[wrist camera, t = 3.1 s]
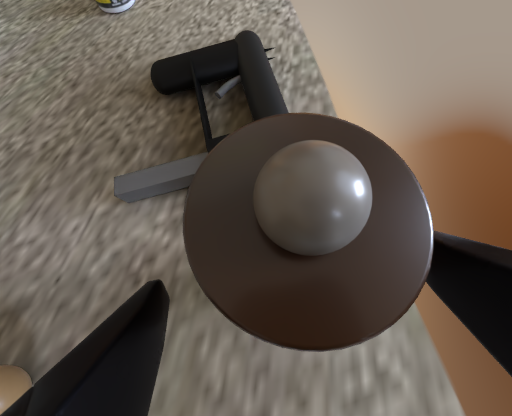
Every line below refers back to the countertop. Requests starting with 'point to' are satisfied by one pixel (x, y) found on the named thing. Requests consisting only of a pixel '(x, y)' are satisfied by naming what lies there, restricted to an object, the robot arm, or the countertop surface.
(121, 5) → the supplement bottle
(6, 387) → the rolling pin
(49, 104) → the countertop surface
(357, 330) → the pepper mill
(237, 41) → the door handle
